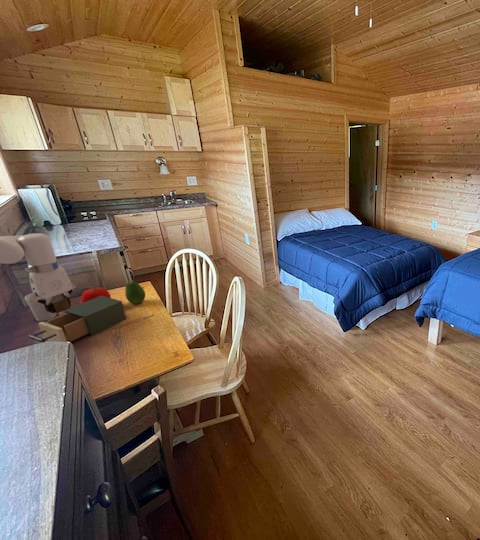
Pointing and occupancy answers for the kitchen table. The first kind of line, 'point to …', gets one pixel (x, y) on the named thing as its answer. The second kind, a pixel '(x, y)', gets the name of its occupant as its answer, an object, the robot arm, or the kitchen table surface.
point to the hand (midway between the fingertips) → (59, 308)
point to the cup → (39, 309)
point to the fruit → (134, 292)
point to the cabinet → (99, 313)
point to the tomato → (94, 294)
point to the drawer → (62, 328)
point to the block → (59, 304)
